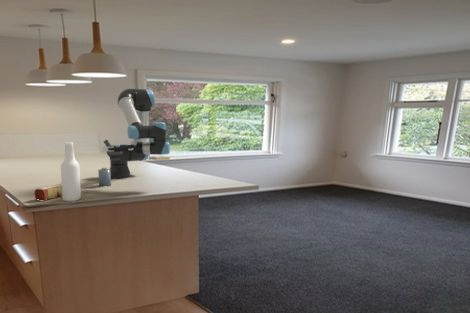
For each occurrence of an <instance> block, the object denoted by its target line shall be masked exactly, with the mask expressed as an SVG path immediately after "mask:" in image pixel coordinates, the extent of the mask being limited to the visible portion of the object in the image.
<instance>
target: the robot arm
mask: <svg viewBox="0 0 470 313" xmlns="http://www.w3.org/2000/svg"><path fill="white" fill-rule="evenodd" d="M117 105H118V108H120V110H122V112H123V116H124V117H125V120H126V122H127V125H128V126H127V131H126V132H127V136H128V138H129V139H132V140H131V142H130V144H127V143H125V142H124V143H123V142H122V143H116V144H110V145H111V146H112V147H106V146H102V152H106V151H114V152H123V154H122V156H121V157H120V160H110V159H109V164H110V166H109V169H110V172H111V179H125V178H129V177H131V172H130V168H129V165H128V164H129V163H128V162H140V161H146V160H147V159H148V158H149V156H151V155H160V156H161V155H162V156H163V155H169V154H170V153H171V152H170V151H171V143H170V142H168V141H167V125H166V124H167V123H165V122H159V121H155V122H152V125H148V120H149V112H151V111H152V108H154V107H155V105H156V99H155V94H154V92H153V90H152V89H146V88H142V89H141V88H126V89H123V90H122V91H121V92H120V93H119V95H118V98H117ZM147 139H152V140H153V141H146V140H147ZM116 149H117V150H116Z"/></svg>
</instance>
